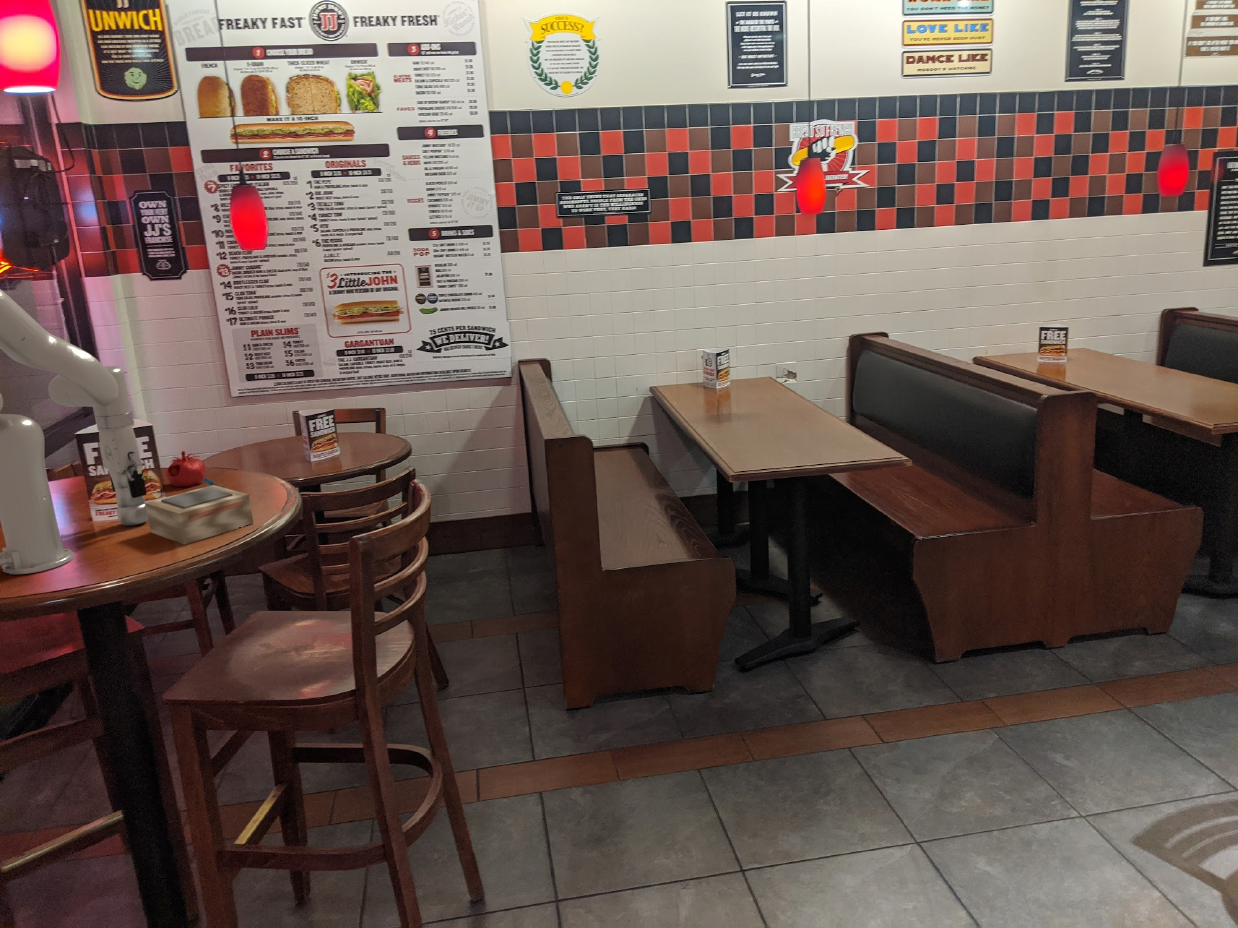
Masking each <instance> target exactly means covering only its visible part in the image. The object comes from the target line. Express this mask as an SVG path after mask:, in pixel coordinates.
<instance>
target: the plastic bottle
mask: <svg viewBox="0 0 1238 928" xmlns="http://www.w3.org/2000/svg"><path fill="white" fill-rule="evenodd" d="M107 467H108V469H107V471H108V470H109V473H110V475H109V477H110V476H111V478H112V481H113V484H114V487H115V492H114V493H115V497H116V505H117V508H116V510H117V511H116V512H117V513H116V515H117V519H118V521H119V522H120V523H121V525H123V526H137V525H141V524H144V523H146V522H149V521H148V516H147V510H146V505H145V503H146V499H145V495H144V496H140V497H136V498H132V497H131V492H130V487H129V482H128V481H130V479H129V477H128V475H127V474H126V472H125V471H124V472H123V473H118V472H115V470H114V466H113V464H112V461H110V460H108V462H107ZM130 467H134V466H128V468H130ZM109 473H108V474H109ZM131 473H132V474H133V471H132V472H131Z"/></svg>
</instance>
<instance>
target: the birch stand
mask: <svg viewBox="0 0 1238 928" xmlns="http://www.w3.org/2000/svg"><path fill="white" fill-rule="evenodd" d="M219 486H220V485H218V486H215V485H212V486H211V485H208V486H204V487H201V488H197V489H194V490H189V491H186V492H185V491H184V492H182V493H177V494H174V495H171V496H169V495H168V496H166V497H162V498H158V499H153V500H151V501H147V502H146V501H145V502H146V503H145V505H146V510H147V516H148V521H147V522H148V524H149V530H150V531H149V532H150V533H152V534H154V535H157V536H159V537H163V538H165V539H168V540H170V541H174V542H177V543H179V544H182V545H188V544H192V543H194V542H198V541H201V540H204V539H207V538H211V537H214V536H218V535H222V534H225V533H228V532H231V531H234V529H235V530H238V529H240V528H239V527H241V528H244V526H245V525H248V524H251V525H254V520H253V519H254V518H253V512H252V505H251V500H250V494H249V493H245V492H240V491H236V490H233V489H230V488H227V487H226V488H222V486H221V487H219ZM248 526H249V525H248ZM245 527H246V526H245ZM221 533H222V534H221Z"/></svg>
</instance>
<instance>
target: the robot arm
mask: <svg viewBox="0 0 1238 928" xmlns="http://www.w3.org/2000/svg"><path fill="white" fill-rule="evenodd" d="M0 350H1V351H3V352H4V353H5V354H6V355H7V356H8V357H9V358H11V359H12V360H13V361H15V362H17V363H19V364H22V365H24V366H27V367H31V368H33V369H36V370H37V369H38V370H42V371H46V372H48V373H52V374H56V376H54V377H53V378H51V381H50V382H49V384H48V395H49V397H50V399H51V400H52V401H53V402H55V403H56V404H57V405H59V406H63V407H68V408H69V407H71V408H83V407H84V408H85V407H87V408H88V407H90V408H91V407H92V409H93V414H94V419H95V425H96V428H97V431H98V436H99V437H98V440H99V447H100V452H101V459H102V464H103V468H105V470H107V471H108V475H109V479H110V482H111V483H110V484H111V489H112V492H114V493H116V492H115V487H114V484H113V481H112V478H111V476H110V473H109V470H108V467H107V462H108V460H110V461H112V464H113V466H114V470H115V472H118V473H123V472H124V471H125V472H126V474H127V475H128V477H129V479H130V481H128V482H129V487H130V492H131V497H132V498H136V497H140V496H144V497H145V496H147V487H146V484H145V476H144V472H145V471H144V466H143V465H144V464H143V462H142V457H141V454H140V453H141V452H140V450H139V444H138V441H137V438H136V434H135V431H134V428H133V427H134V426H135V425H136V424H135V420H134V419H135V418H134V415H133V411H132V405H131V401H130V395H129V390H128V385H127V379H126V376H125V371H124V370H123V368H121V367H120V366H117V365H115V366H114V365H108V366H106V365H103V363H102V362H100V360H98V359H97V358H96V357H95V356H93V355H92V354H90V353H89V352H87V351H85V350H83V349H82V348H80V347H78V346H77V345H74V344H72V343H71V342H68V341H67V340H65V339H63V338H61V337H58V336H56V335H54V334H52V333H50V332H49V331H47V330H46V329H45V328H44V327H43V326H42V325H40V323H38V322H37V321H36V320H35V319H34V318H33V317H32V316H31V315H30V314H29V313H28V312H27V311H25V309H24V308H22V307H21V306H20V305H19V304H18V303H17V302H16V301H15V300H14V299H13V298H12V297H10V296H9V295H8V294H7V293H6V292H5V291H4V290H2V289H1V288H0ZM3 406H4V398H3V395H2V393H1V392H0V412H2V409H3ZM45 461H46V460H45V434H44V431H43V429H42V427H41V425H40V424H38V423H37V421H35V420H34V419H32V418H30V417H28V416H25V415H21V414H13V413H0V524H1V529H2V533H3V538H4V541H5V547H2V548H1V549H2V552H0V567H1V569H2V572H3V573H5V572H6V573H5V574H7V573H9V574H8V575H27V574H34V573H39V572H44V571H48V570H51V569H54V568H57V567H60V566H63V565H64V564H67V563H69V562H70V561H72V559H73V558H74V552H73V550H71V549H69V548H64V547H63V542H62V539H61V538H62V537H61V534H60V529H59V525H58V524H59V523H58V519H57V516H56V511H55V507H54V502H53V497H52V493H51V488H50V484H49V480H48V474H47V470H46V462H45ZM128 466H134V467H130V468H128ZM132 471H133V474H132V473H131V472H132Z"/></svg>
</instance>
